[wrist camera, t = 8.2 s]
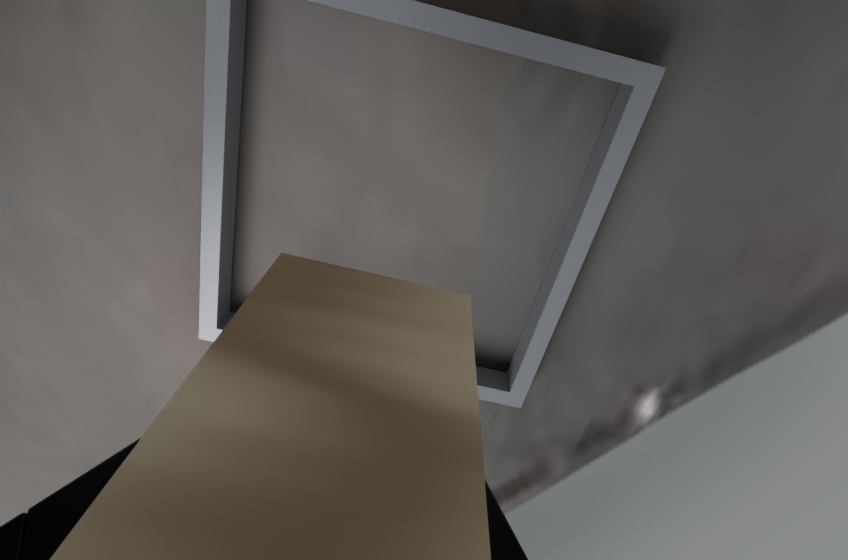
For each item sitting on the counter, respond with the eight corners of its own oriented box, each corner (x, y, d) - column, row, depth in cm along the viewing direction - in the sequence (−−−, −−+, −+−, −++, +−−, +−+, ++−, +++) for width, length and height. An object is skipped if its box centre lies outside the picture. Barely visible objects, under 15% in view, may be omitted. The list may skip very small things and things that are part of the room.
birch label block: (262, 429, 12) (-13, 1017, 5) (281, 252, 10) (-176, 857, 3) (417, 460, 12) (372, 1064, 5) (470, 296, 10) (521, 955, 3)
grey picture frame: (212, 321, 24) (198, 338, 23) (226, -48, 17) (207, -55, 16) (516, 387, 25) (520, 408, 24) (650, 65, 18) (666, 67, 17)
